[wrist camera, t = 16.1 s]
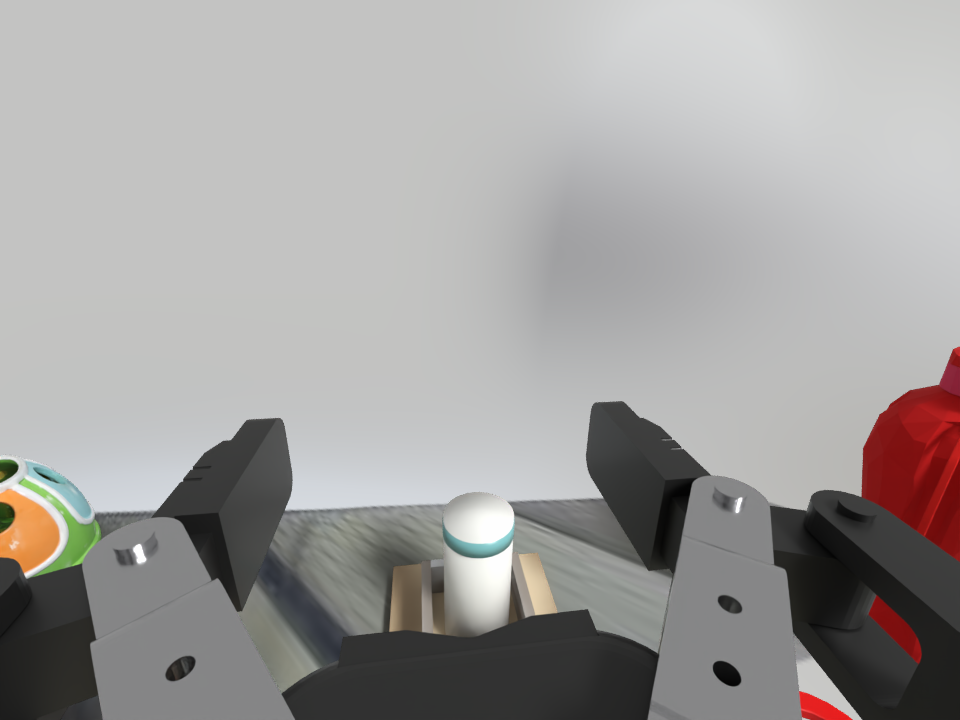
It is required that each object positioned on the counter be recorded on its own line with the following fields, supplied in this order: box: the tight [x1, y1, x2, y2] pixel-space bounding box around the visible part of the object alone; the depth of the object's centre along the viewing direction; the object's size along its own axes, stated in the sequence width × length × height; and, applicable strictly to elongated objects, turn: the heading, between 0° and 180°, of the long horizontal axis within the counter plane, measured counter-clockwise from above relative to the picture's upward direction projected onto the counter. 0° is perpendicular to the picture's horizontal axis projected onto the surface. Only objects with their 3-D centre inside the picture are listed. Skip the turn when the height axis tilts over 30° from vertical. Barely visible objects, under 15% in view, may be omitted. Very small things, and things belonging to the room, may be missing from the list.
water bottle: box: [862, 347, 960, 664], centre depth 32 cm, size 9×11×25 cm
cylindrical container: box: [443, 492, 514, 638], centre depth 34 cm, size 5×5×11 cm
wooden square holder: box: [389, 552, 558, 635], centre depth 36 cm, size 14×14×4 cm
